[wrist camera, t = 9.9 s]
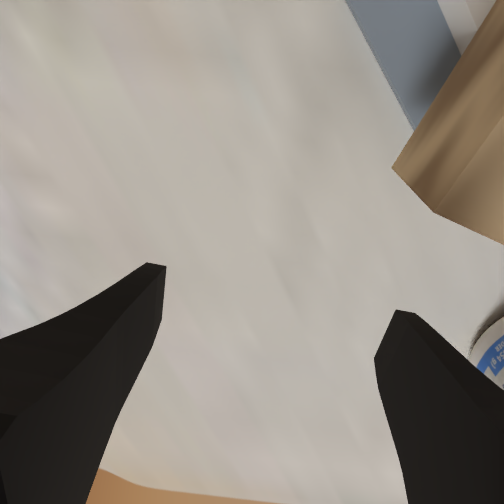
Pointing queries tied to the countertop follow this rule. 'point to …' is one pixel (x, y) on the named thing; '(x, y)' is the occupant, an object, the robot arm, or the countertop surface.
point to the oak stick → (465, 138)
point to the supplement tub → (490, 353)
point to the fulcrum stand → (418, 43)
